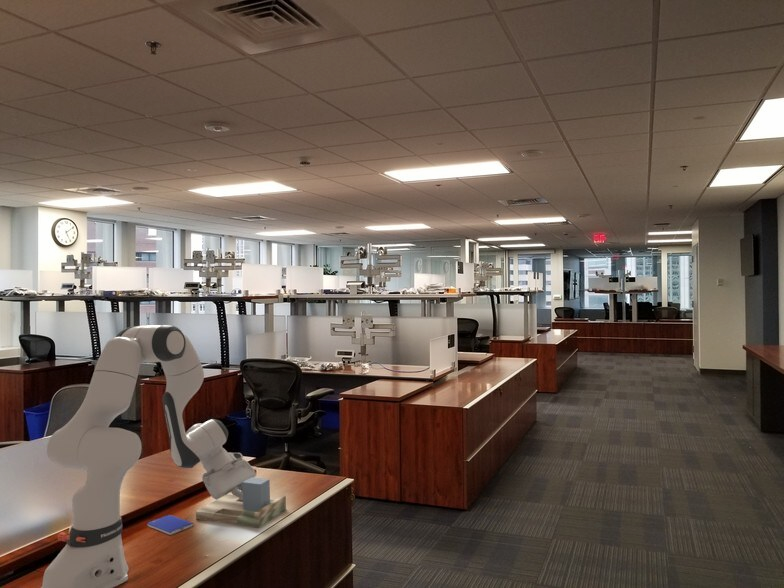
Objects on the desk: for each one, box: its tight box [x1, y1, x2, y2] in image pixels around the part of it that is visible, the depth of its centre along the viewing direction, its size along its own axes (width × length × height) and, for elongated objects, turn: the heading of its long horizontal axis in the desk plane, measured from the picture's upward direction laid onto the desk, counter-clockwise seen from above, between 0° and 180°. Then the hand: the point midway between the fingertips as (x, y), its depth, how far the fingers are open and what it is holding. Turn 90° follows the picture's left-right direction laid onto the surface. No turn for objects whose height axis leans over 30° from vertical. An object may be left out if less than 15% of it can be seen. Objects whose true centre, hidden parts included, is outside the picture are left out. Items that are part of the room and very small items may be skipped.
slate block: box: [242, 477, 271, 511], centre depth 189 cm, size 5×7×9 cm
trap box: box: [195, 493, 287, 529], centre depth 191 cm, size 16×24×4 cm, turn 69°
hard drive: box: [147, 514, 194, 536], centre depth 183 cm, size 2×8×12 cm
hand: (245, 498), depth 190 cm, fingers closed
